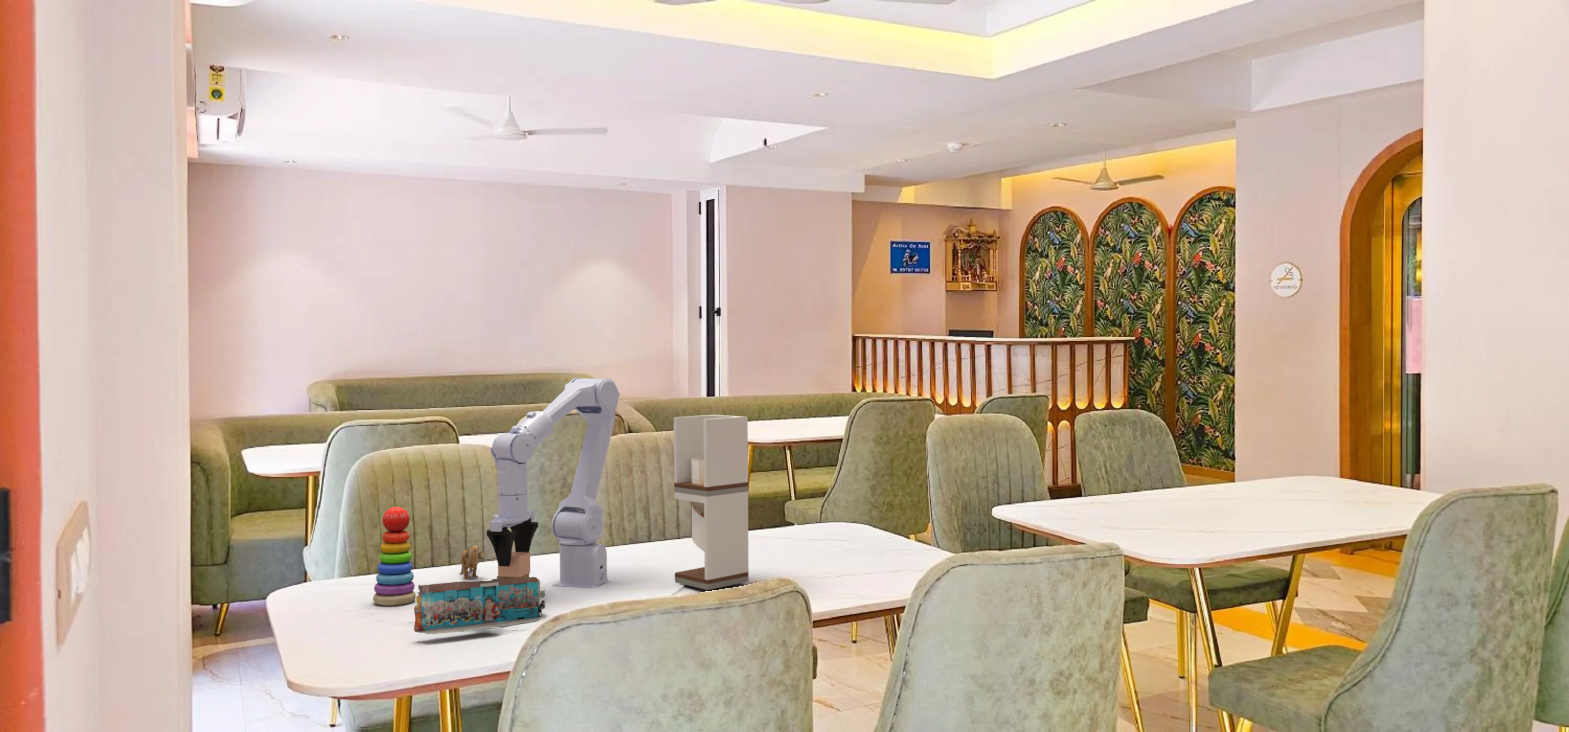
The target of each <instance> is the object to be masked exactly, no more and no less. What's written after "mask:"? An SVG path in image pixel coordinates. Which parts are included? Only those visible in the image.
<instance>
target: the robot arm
mask: <svg viewBox="0 0 1569 732" xmlns="http://www.w3.org/2000/svg"><path fill="white" fill-rule="evenodd" d="M619 399H620V392H619V389H618V387H617V385H616V383H615V381H614V380H613V379H611V378H609V377H605V378H603V377H602V378H589V377H588V378H581V377H574V378H572V379H571V380H570V381H569V382H568V383H565V385H564V390H563V391H562V392H561V393H560V394H559V395H558V396H556V397H555V399H554V400H552V401H551V403H549V404H548V405H547V406H546V407H545V408H544V409H543V410H542V411H541V410H540V411H539V410H534V411H529V412H527V413H526V415H525V418H523V420H521V421H520V422H519V423H518V424H516V425H513V426H511V428H510V429H511V430H509V432H503V433H500V434H498V435H497V437H495V439H494V440H493V442H492V446H491V447H490V448H489V449H490V455H491V457H492V458H493V460H494V463H495V465H494V466H495V469H496V471H497V514H495V515H493V516H492V519H493V520H492V521H490V529H487V530H486V536H487V538H488V539H489V540H490V543H491V545H492V547H493V551H494V553H495V558H496V562H497V566H498V565H499V566H507V567H508V566H510V562H511V554H512V552H513V545H514V552H528V553H530V550H531V545H532V542H533V538H534V536H535V534H536V531H537V529H538V528H539V522H537V521H534V520H535V511H534V510H528V509H529V508H528V461H530V460H531V458H532V457H533V455H534V451H535V449H536V448H537V446H539V445H540V444H541V443H542V442H543V441H544V440H545V439H546V438H548V437H549V436H550V435H551V434H552V433H553V431H554V425H555V424H556V423H557V422H559V421H560V420H562V419H563V418H564V417H566V416H567V415H568V414H570V413H571V412H572V411H576V413H578V414H579V415H580V417H581V418H583V419H584V420H585V422H586V424H587V427H586V430H585V435H584V439H583V443H582V447H581V451H580V455H579V459H578V463H577V465H576V471H575V474H574V479H573V483H572V487H571V491H570V494H569V495H568V496H567V497H566V498H564V499H563V500H561V501H560V502H559V504H558V507H557V511H556V512H555V513H554V515H553V517H552V519H551V525H550V527H551V529H550V530H551V532H552V535H553V536H554V537H555V538H556V542H557V543H558V544H559V581H557V582H555V583H554V584H552V587H557V588H558V587H560V588H561V587H562V588H583V589H584V588H585V589H596V588H598V587H599V586H601V585H603V584H605V583H606V582H609V579H608V555H607V549H606V546H605V545H604V544H603V543H602V544H601V543H597V542H598V539H599V538H600V537H601V534H602V532H603V514H604V509H603V508H602V506H600V505H601V504H599V503H598V502H597V495H598V493H599V487H600V484H601V479H602V475H603V471H604V466H605V462H606V458H607V454H608V451H609V446H610V442H611V439H612V435H613V431H614V425H615V418H616V417H615V415H616V412H617V411H616V410H617V408H618V403H619ZM508 528H510V529H508Z"/></svg>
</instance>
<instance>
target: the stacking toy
mask: <svg viewBox="0 0 1569 732" xmlns="http://www.w3.org/2000/svg"><path fill="white" fill-rule="evenodd" d="M410 518H411V517H410V514H409V512H408V511H407V510H406V509H405V508H404V507H400V506H394V507H393V506H392V507H390V508H388V509H387V510H386V511H384V514H383V516H382V525H383V528H385V530H387V531H384V532H383V533H382V535H381V539H382V541H383V542H382V543H381V545H380V551H381V553H380V555H379V561H380V562H379V564H378V565H377V572H378V573H377V575H376V576H375V580H376V583H375V584H374V587H373V589H374V592H375V593H374V594H373V597H372V600H373V603H375V604H376V605H379V606H386V607H388V606H389V607H391V606H402V605H406V604H411V603H412V602H414V601H415V600H416V597H417V595H416V594H417V593H416V592H415V591H414V590H415V583H414V581H413V580H414V576H415V575H414V574H415V573H414V572H413V571H412V569H413V564H412V563H413V562H411V559H412V557H413V556H412V555H413V554H412V553H411V552H410V549H411V545H410V543H409V542H408V540H409V539H410V533H409V532H408V531H406V529H407V528H408V526H409V524H410V520H411V519H410Z"/></svg>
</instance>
